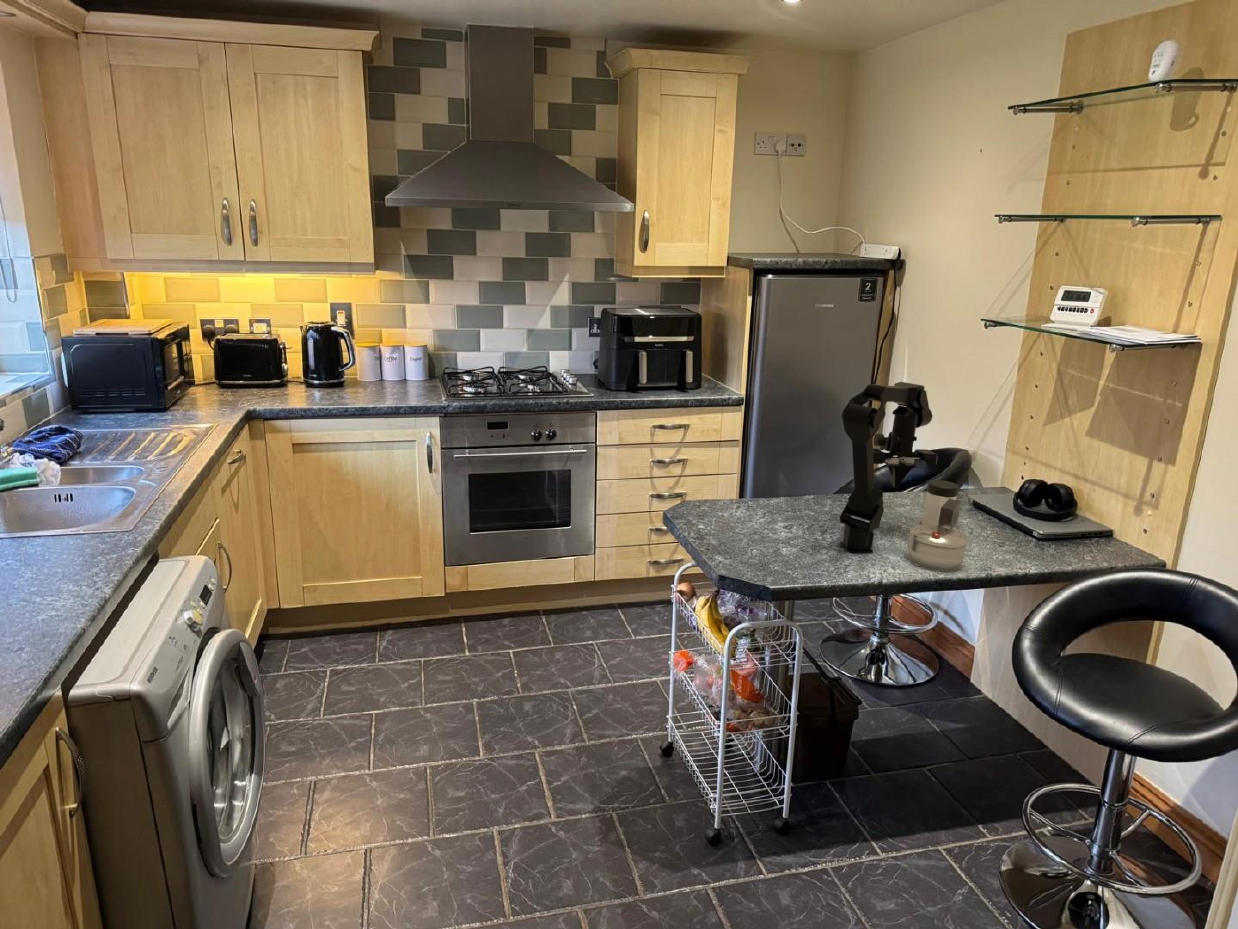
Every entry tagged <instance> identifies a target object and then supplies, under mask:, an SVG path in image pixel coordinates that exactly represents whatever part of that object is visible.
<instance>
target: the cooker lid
mask: <svg viewBox="0 0 1238 929" xmlns="http://www.w3.org/2000/svg"><path fill="white" fill-rule="evenodd" d="M961 505H962V500H957V499H956V500H953V499H948V500H947V502H946V503H945V504H944V505H943V506H942V507H941V511H940V516H939V522H938V526H936V525H923V524H918V525H914V526H912V527H911V528H910V531H909V534H910V535H911V537H912V538H914V539H915V540H917V541H919V542H922V543H925V544H928V545H932V546H936V547H943V548H960V547H964V546H967V545H968V541H969V539H968V537H967V535H966V534H964V533H963V532H961V531H958V530H956V529H954V528H955V526H956V525H957V524H958V522H959V515H960V511H961Z"/></svg>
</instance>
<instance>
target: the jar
mask: <svg viewBox="0 0 1238 929" xmlns="http://www.w3.org/2000/svg"><path fill="white" fill-rule="evenodd" d="M959 488H960V487H959V485H958V484H957V483H954V482H952V481H948V480H943V479H942V480H941V479H932V480H931V479H930V480H929V481H928V482H927V485H926V493H925V500H924V506H923V512H922V519H921V525H936V526H938V522H939V516H940V511H941V507H942V506H943V505H944V504H945V503H946V502H947V500H948V499H953V500H957V498H958V494H959Z"/></svg>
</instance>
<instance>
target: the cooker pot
mask: <svg viewBox="0 0 1238 929" xmlns="http://www.w3.org/2000/svg"><path fill="white" fill-rule="evenodd" d="M966 546H967V545H966ZM966 546H964V547H960V548H943V547H936V546H932V545H928V544H925V543H922V542H919V541H917V540H915V539H914V538H912V537H911V535H910V536H909V543H908V550H907V554H906V555H907V556H906V557H907V558H908V559H909V560H910V561H911V562H910V561H909V560H908V559H907V558H906V559H907V560H908V561H909V562H910V563H912V562H913V563H914V565H915V564H917V565H920V566H922V567H924V568H923V569H926V568H927V569H926V570H931V571H935V570H937V571H936V572H943V573H944V572H946V573H947V572H948V573H949V572H951V573H952V572H957V571H959V570H961V569H962V568H963V564H964V558H965V552H966V549H967V548H966ZM913 563H912V564H913ZM917 565H916V566H917ZM920 566H919V567H920ZM922 567H921V568H922Z"/></svg>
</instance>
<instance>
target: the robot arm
mask: <svg viewBox="0 0 1238 929" xmlns="http://www.w3.org/2000/svg"><path fill="white" fill-rule="evenodd" d="M925 388H926V387H925V386H924V385H921V384H917V383H911V382H906V381H905V382H904V381H899V382H895V383H894V385H885V384H884V385H883V384H882V385H881V384H874V383H870V384H867V385H866V387H865V388H864V389H863V391H861V392H859V393H858V394H856V395H854V396H853V397H851V399H850V400H849V401H848V403H847V404H846V405H845V407H844V409H843V410H842V413H841V419H842V420H841V421H842V426H843V429H844V430H843V431H844V433H845V434H846V435H847V437H848V438H849V439H850V440H851V447H852V448H851V451H852V469H853V470H852V471H853V472H852V473H853V488H854V489H853V491H852V492H851V493H850V495H849V496H848V498H847V503H846V505H845V506H844V507H843V510H842V512H841V513H840V515H839V523H840V524H844V531H843V537H842V541H839V545H841V546H842V548H843V549H845V550H846V551H847V552H848V553H850V554H851V553H853V554H858V553H865V554H866V553H869V554H871V553H873V552H874V550H873V549H872V548H873V543H874V537H875V533H874V531H875V530H877V529H879V528H880V525H881V522H882V518H883V515H884V512H885V511H884V510H885V508H884V504H885V502H884V492H883V490H882V489H879V488H876V486H875V468H874V466H875V465H883V464H885V465H886V466H887V468H888V471H889V475H890V480H891V485H892V487H893V488H894V489H898V488H899V486H900V485H901V483H902V482H903V481H904V479H905V478H906V476H907V475H908V474H909V473H910V472H911V471H912V469H913V468H917V464H915V461H923V462H924V464H925V465H929V466H930V465H933V466H935V465H937V464H938V455H937V453H935V452H933V451H931V450H930V449H923V448H922V449H921V448H920V449H918V448H916V449H914V451H913V447H914V442H917V440H918V437H917V436H916V431H917V429H918V428H921V427H925V426H927V425H928V424H930V423H931V422H932V420H933V417H934V415H933V411H932V410H931V408H930V406H929V400H928V393H927V390H925ZM869 401H872V402H878V403H880V405H879V406H878V408H876V407H872V406H865V405H866V404H868V403H869ZM889 402H890V403H892V402H893V403H895V404H897V407H896V408H895V409H894V410H893V411H892V413H891V414H892V415H894V417H893V423H892V429H891V431H889V433H888V436H886V437H885V435H884V434H883V433H877V432H878V431H879V429H880V425H881V423H882V422H883V420H884V418H885V417H886V407H885V406H886V404H887V403H889ZM876 433H877V434H876ZM874 447H879V448H874ZM884 450H885V451H886V452H885V451H884ZM855 517H856V518H855ZM862 519H863V520H862Z"/></svg>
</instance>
